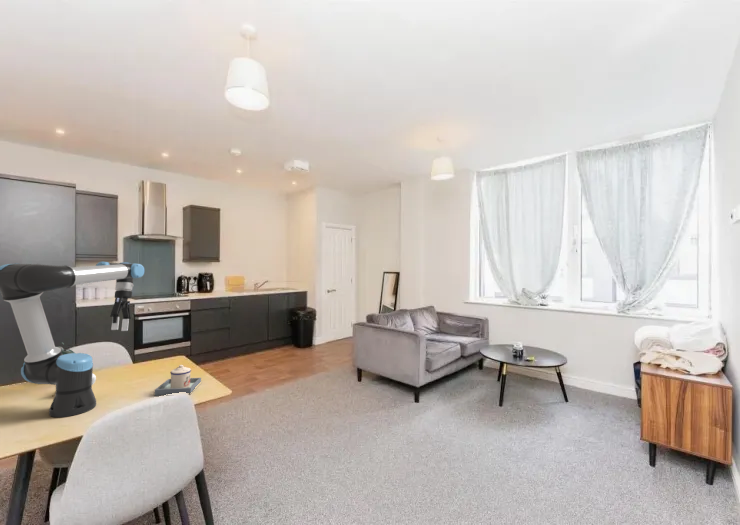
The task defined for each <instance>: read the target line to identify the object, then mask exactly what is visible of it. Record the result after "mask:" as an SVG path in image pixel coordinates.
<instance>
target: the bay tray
mask: <svg viewBox="0 0 740 525" xmlns="http://www.w3.org/2000/svg"><path fill="white" fill-rule="evenodd" d="M200 382H201V383H202V377H190V387H189V388H172V389H170V388H171V378H167V379H166V380H165V381H164V382H162V383H161V384H160V385H159V386H158V387H156V388H155V389H154V397H160V396H161V395H166V394H172V393H179V392H186V393H191V392H192V391H193V390H194V389H195V387H196V386H197V385H198V384H199V383H200ZM195 390H196V389H195ZM195 390H194V391H195ZM194 391H193V392H194ZM193 392H192V393H193ZM192 393H191V394H192ZM166 396H167V395H166Z"/></svg>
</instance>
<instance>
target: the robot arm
mask: <svg viewBox="0 0 740 525" xmlns="http://www.w3.org/2000/svg"><path fill="white" fill-rule="evenodd" d="M144 275H145V266H143V265H142V264H141V263H135V262H133V263H131V262H125V261H124V262H109V261H98V262H97V263H96V265H90V266H89V265H87V266H76V267H75V266H74V267H73V266H72V267H71V266H70V265H49V264H39V263H37V264H36V263H17V262H15V263H7V264H6V263H5V264H2V265H0V294H1V297H2V299H3V301H4V302H7V303H9V304H10V307H11V310H12V313H13V315H14V319H15V322H16V324H17V327H18V329H19V333H20V335H21V339H22V342H23V344H24V347H25V351H26V353H27V355H26V356H25V357H24V360H23V361H24V362H23V363H22V365H23V366H22V367H21V368H20V375H21V377H22V378H23V379H24V380H25V381H26V382H29V383H32V384H37V385H43V384H44V385H53V386H55V395H54V398H53V399H52V402H51V405H50V406H49V410H48V411H49V412H48V415H49V416H50V417H52V418H65V417H66V418H67V417H71V416H72V417H73V416H77V415H80V414H83V413H85V412H89V411H91V410H93V409H94V408H96V406H97V398H96V396H95V394H94V390H93V388H92V386H93V385H92V373H93V372H94V371H93V370H94V369H93V366H94V362H93V357H92V356H91V355H90V354H88V353H83V352H82V353H81V352H78V353H76V352H74V353H70V354H65V355H63V354H62V351H61V349H60V348H58V347H59V346H56V345H55V341H54V339H53V335H52V331H51V329H50V325H49V322H48V319H47V317H46V313H45V310H44V307H43V303H42V301H41V296H42V295H43V293H45V292H46V293H47V292H53V291H57V290H62V289H70V288H72V287H74V286H75V285H83V284H90V283H91V284H92V283H98V282H101V283H102V282H107V281H114V280H115V288H114V290H115V291H114V298H115V299H114V303H113V306H112V309H111V313H110V317H111V318H112V319H111V320H112V321H111V328H110V330H111V331H116V330H117V331H118V330H119V324H120V316H119V315H120V314H121V313H122V317H123V318H122V320H121V322H122V323H121V332H128V330H129V320H131V319H132V315H131V301H130V300H128V299H132V297H133V288H134V286H135V285H134V279H139V278H140V279H141V278H142V277H143V276H144Z"/></svg>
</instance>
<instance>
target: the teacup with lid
mask: <svg viewBox="0 0 740 525" xmlns="http://www.w3.org/2000/svg"><path fill="white" fill-rule="evenodd" d="M191 372H192V369H191V368H190V367H187V366H184V365H183V364H179V365H178V367H176V368H174V369H172V370H171V371H170V379H171V388H170V389H172V388H189V387H190V378H191Z"/></svg>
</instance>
